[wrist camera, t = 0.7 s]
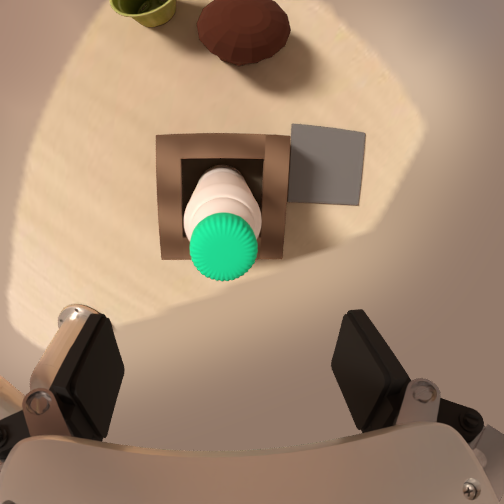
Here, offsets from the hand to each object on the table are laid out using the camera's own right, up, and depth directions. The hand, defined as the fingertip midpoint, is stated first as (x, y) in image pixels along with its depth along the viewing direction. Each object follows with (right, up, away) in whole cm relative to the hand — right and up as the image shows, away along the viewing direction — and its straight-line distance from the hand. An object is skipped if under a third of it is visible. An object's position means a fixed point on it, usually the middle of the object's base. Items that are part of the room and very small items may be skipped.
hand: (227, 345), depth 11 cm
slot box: (-4, +13, +31) cm, 34 cm away
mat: (+13, +17, +32) cm, 38 cm away
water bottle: (-4, +13, +31) cm, 34 cm away
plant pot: (-13, +40, +19) cm, 46 cm away
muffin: (-1, +34, +23) cm, 41 cm away
